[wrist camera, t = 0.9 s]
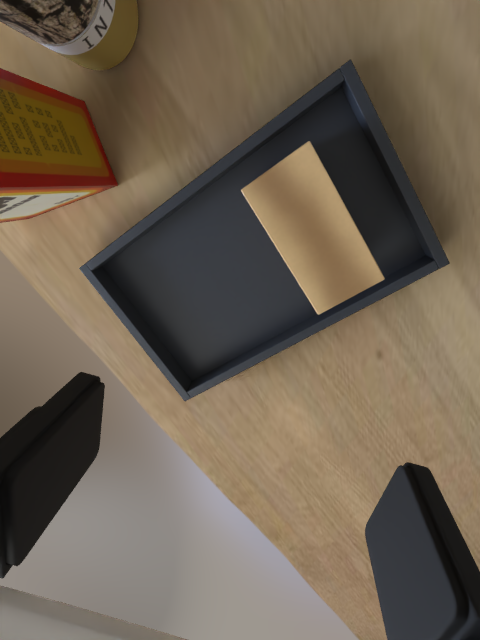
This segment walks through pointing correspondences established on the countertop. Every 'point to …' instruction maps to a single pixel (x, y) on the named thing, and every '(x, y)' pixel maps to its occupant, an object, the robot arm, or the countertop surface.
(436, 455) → the countertop surface
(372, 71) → the countertop surface
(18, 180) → the baking soda box
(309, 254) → the wooden block
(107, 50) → the paper tube
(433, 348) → the countertop surface
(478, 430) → the countertop surface
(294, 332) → the tray
